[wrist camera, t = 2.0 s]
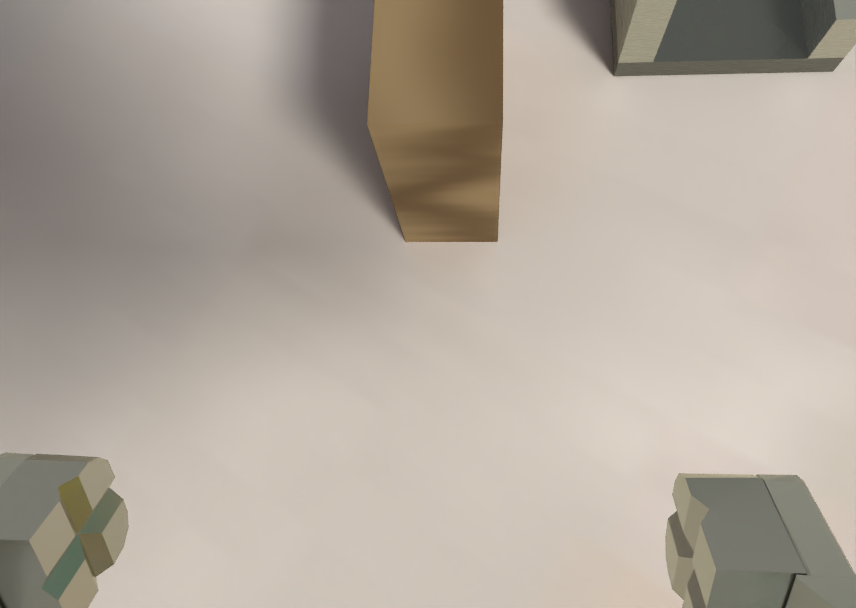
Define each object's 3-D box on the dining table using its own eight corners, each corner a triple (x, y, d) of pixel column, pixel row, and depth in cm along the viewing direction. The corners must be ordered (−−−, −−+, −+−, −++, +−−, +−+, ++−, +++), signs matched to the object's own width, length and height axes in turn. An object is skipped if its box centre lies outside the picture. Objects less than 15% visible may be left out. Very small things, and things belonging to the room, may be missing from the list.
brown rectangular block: (405, 241, 30) (366, 124, 20) (413, 44, 32) (383, -144, 23) (497, 242, 29) (502, 121, 20) (498, 42, 32) (503, -151, 22)
